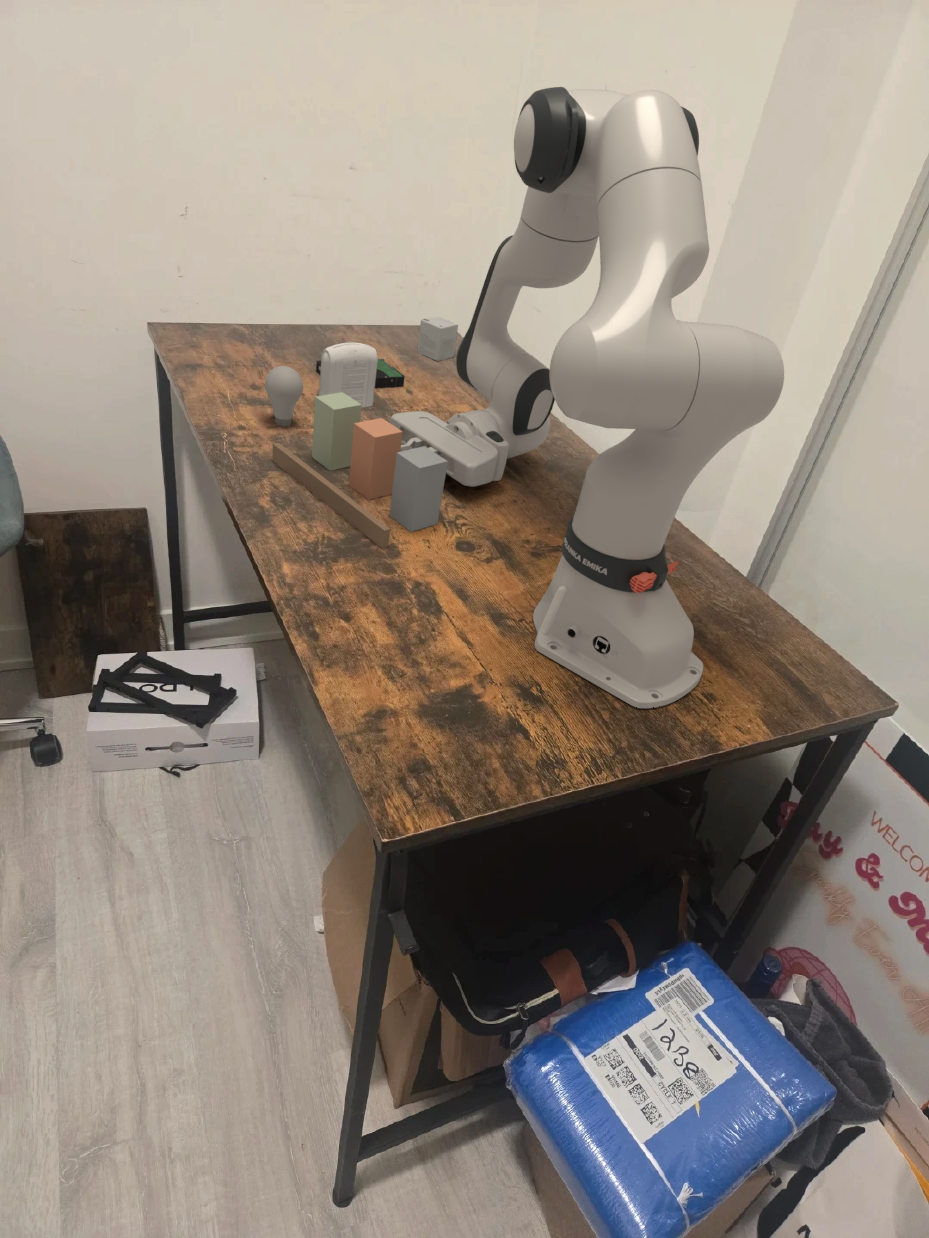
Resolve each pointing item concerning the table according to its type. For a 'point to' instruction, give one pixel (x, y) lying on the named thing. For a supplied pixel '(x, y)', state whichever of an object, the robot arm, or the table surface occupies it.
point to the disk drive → (381, 375)
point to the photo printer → (349, 371)
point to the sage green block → (334, 429)
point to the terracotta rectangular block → (374, 457)
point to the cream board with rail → (332, 496)
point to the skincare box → (437, 338)
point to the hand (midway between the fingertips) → (402, 455)
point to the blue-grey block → (417, 488)
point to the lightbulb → (283, 392)
